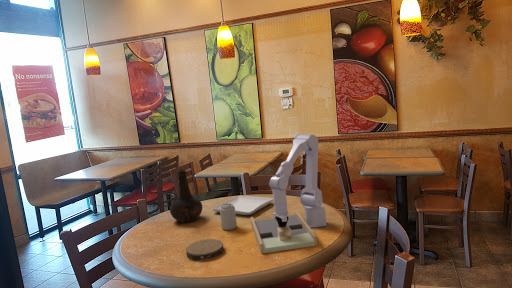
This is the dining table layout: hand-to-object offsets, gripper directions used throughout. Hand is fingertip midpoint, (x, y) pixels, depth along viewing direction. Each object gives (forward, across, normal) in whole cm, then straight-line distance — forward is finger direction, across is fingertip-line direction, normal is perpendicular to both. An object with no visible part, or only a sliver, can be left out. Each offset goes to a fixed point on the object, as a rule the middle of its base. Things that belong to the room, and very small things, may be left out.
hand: (283, 232), depth 172 cm
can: (+3, -24, -23) cm, 33 cm away
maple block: (+1, +4, 0) cm, 4 cm away
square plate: (+4, -54, -13) cm, 55 cm away
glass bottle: (+3, -46, -45) cm, 65 cm away
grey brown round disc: (+4, +2, -35) cm, 35 cm away
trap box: (+3, -6, 0) cm, 6 cm away
